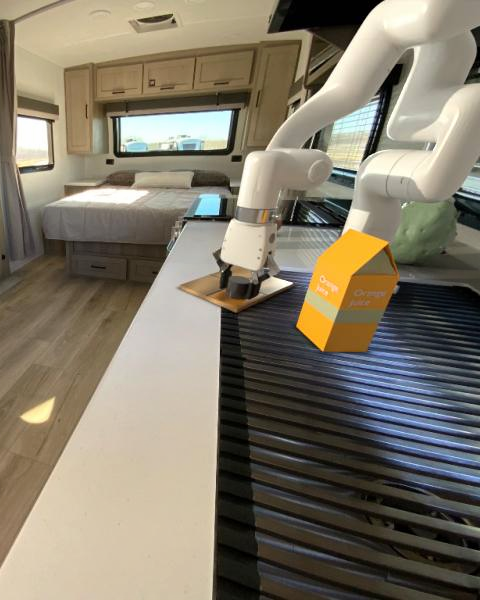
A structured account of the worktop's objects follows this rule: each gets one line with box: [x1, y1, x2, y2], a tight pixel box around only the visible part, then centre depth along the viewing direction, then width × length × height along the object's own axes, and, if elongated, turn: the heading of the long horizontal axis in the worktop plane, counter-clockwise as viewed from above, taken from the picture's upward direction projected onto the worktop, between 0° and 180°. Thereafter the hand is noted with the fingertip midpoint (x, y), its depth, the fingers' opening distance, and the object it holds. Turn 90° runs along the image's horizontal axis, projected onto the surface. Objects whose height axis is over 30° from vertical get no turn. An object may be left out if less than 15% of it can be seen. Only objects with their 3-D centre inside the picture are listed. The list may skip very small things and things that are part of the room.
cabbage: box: [390, 196, 461, 265], centre depth 94 cm, size 16×19×20 cm
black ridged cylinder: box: [225, 276, 251, 300], centre depth 77 cm, size 5×5×4 cm
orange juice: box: [295, 229, 401, 353], centre depth 58 cm, size 8×9×20 cm
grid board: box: [178, 265, 294, 314], centre depth 84 cm, size 16×24×1 cm, turn 124°
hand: (237, 291), depth 77 cm, fingers open, 6 cm apart
